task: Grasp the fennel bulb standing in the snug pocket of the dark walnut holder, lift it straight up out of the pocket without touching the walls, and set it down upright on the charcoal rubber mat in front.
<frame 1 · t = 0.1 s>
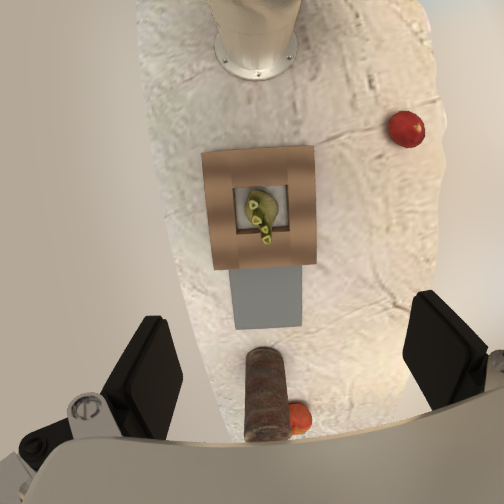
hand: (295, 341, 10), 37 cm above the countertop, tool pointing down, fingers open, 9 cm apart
apple: (294, 406, 61), on the countertop
fennel bulb: (261, 205, 46), resting in pocket holder
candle: (265, 358, 56), on the countertop
red ovoid: (396, 130, 41), on the countertop
pocket holder: (261, 206, 45), on the countertop
mat: (267, 297, 51), on the countertop
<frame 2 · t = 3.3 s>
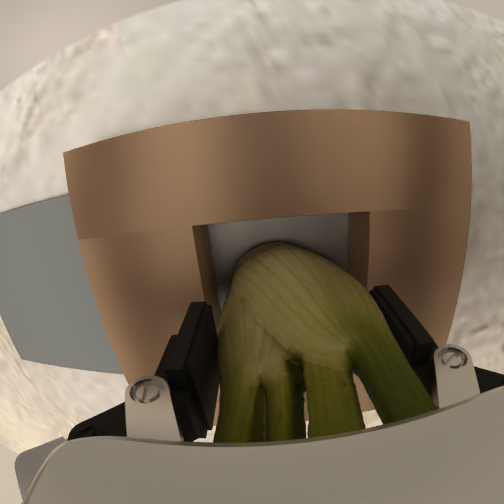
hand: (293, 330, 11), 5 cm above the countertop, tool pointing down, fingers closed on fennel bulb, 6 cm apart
fennel bulb: (282, 278, 15), resting in pocket holder, touching gripper
pocket holder: (283, 280, 15), on the countertop
mat: (42, 293, 16), on the countertop
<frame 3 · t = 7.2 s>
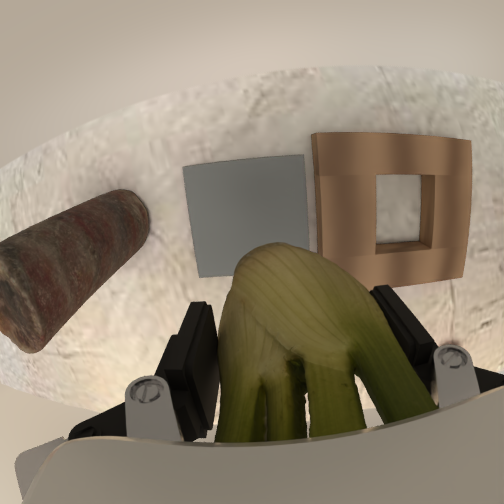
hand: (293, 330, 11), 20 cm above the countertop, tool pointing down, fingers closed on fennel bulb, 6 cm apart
fennel bulb: (282, 278, 15), point 15 cm above the countertop, touching gripper
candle: (124, 221, 31), on the countertop
pocket holder: (395, 208, 29), on the countertop
mat: (248, 217, 30), on the countertop
when the fingers open (6 cm above the countertop, at t = 10.9 s): fennel bulb stays where it is, resting on mat.
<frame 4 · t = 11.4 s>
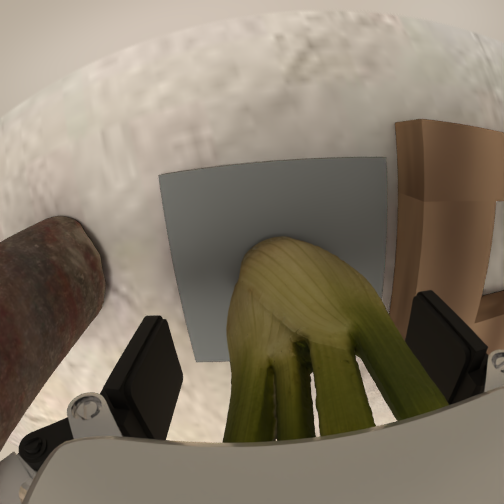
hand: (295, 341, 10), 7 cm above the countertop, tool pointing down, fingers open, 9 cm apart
fennel bulb: (286, 271, 16), resting on mat
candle: (71, 268, 17), on the countertop
pocket holder: (493, 246, 16), on the countertop
mat: (282, 269, 17), on the countertop
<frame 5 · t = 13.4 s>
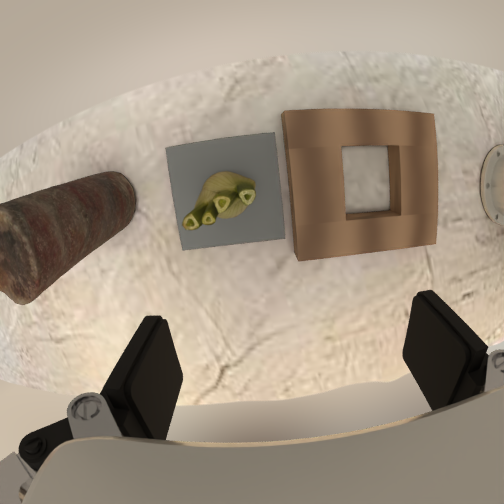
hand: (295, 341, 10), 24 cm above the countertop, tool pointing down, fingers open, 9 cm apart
fennel bulb: (227, 192, 32), resting on mat
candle: (113, 201, 33), on the countertop
pocket holder: (363, 179, 32), on the countertop
mat: (226, 191, 32), on the countertop
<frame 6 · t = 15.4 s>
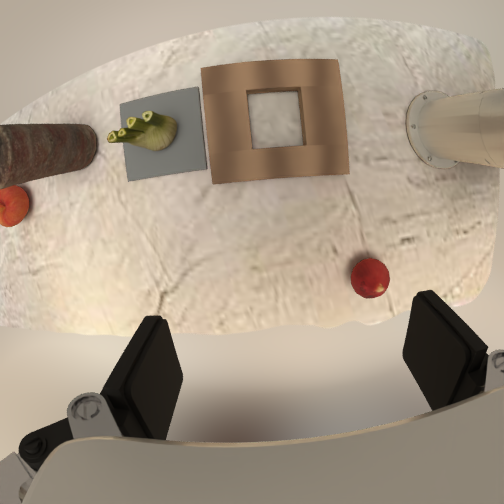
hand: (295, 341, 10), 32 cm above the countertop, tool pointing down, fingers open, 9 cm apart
apple: (24, 200, 41), on the countertop
fennel bulb: (162, 133, 37), resting on mat
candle: (82, 147, 38), on the countertop
red ovoid: (362, 268, 44), on the countertop
pocket holder: (275, 119, 37), on the countertop
mat: (161, 134, 38), on the countertop
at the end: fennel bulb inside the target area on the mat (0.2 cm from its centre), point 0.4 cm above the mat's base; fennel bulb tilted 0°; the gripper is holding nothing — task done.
